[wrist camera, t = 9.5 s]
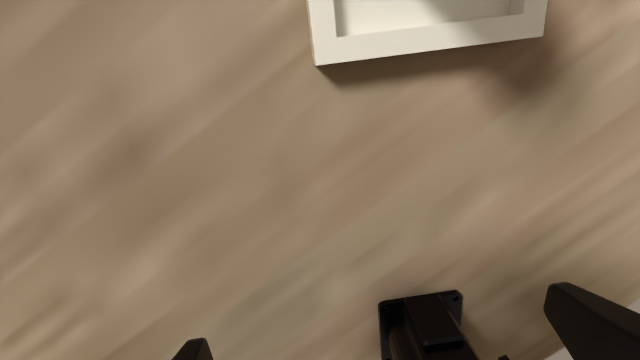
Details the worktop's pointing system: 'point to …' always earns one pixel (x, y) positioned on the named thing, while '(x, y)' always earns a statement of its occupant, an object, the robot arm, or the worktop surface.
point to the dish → (415, 26)
